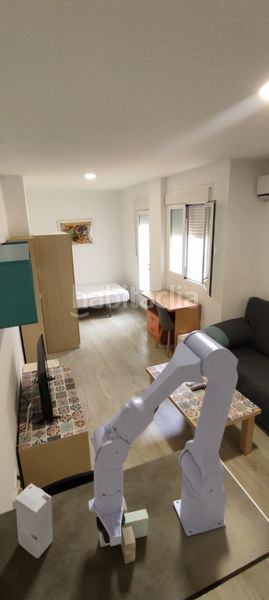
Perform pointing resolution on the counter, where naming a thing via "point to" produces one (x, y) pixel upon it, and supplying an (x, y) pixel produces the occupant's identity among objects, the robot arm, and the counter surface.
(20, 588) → the counter surface
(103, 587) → the counter surface
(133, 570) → the counter surface
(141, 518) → the slotted plate
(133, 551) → the wooden notched block
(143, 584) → the counter surface
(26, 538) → the skincare box
